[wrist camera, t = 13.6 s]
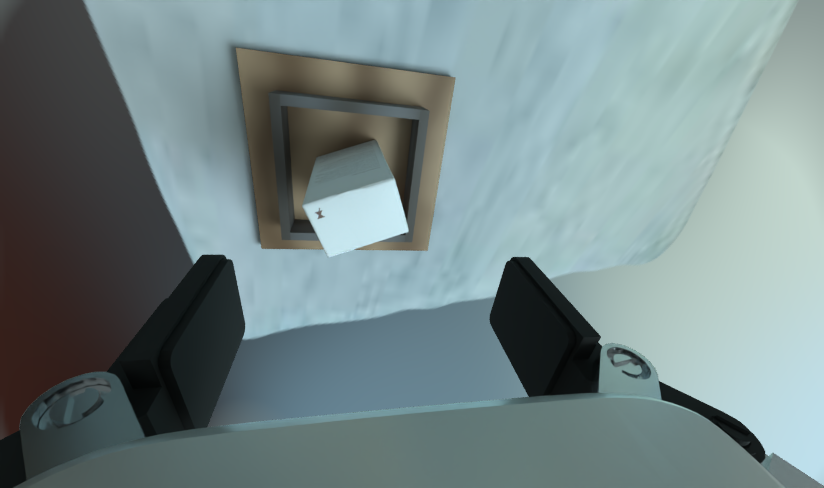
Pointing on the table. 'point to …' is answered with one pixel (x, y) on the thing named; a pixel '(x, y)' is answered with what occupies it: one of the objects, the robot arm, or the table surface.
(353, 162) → the skincare box
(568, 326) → the robot arm
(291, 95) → the wooden framed tray
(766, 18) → the table surface
